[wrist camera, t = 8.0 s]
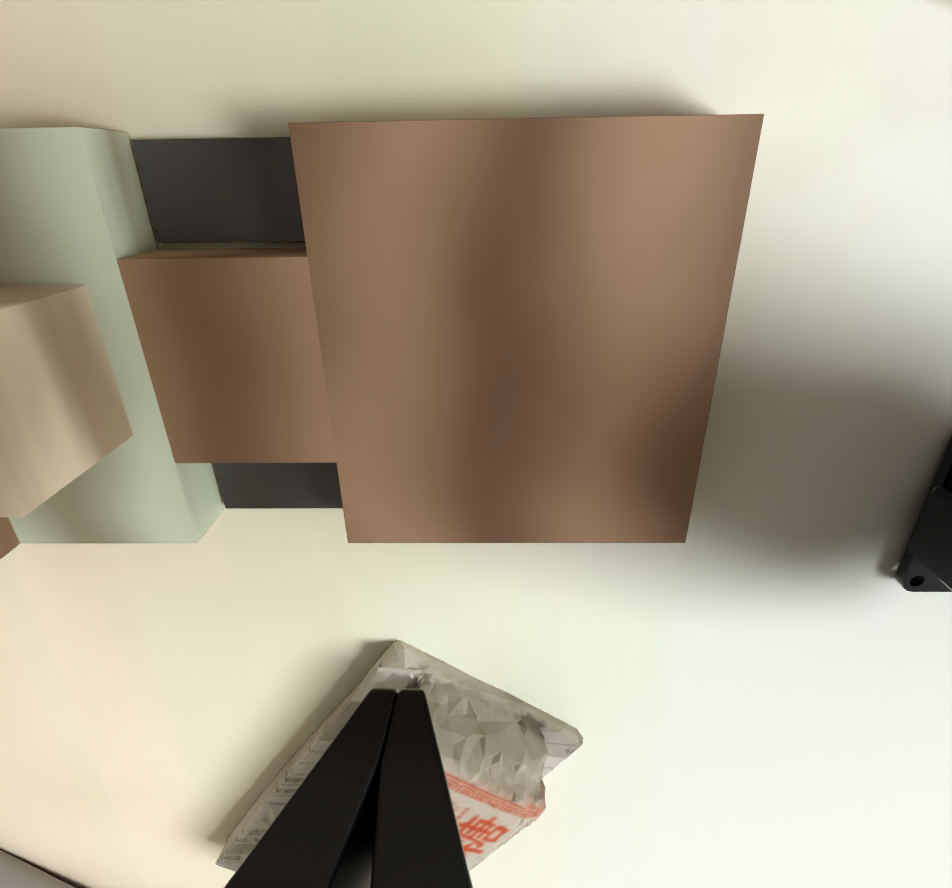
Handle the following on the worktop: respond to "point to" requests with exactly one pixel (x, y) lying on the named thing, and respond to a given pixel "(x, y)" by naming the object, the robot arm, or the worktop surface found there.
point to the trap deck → (394, 321)
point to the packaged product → (442, 753)
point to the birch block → (52, 394)
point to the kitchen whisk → (25, 875)
